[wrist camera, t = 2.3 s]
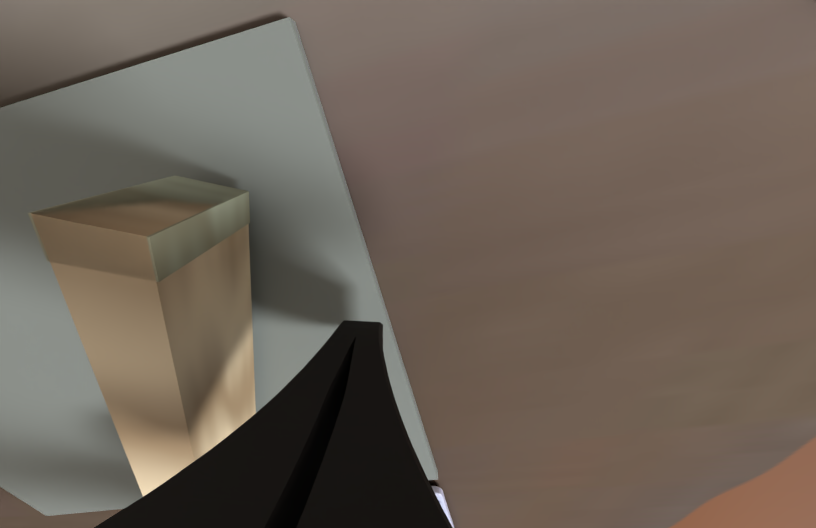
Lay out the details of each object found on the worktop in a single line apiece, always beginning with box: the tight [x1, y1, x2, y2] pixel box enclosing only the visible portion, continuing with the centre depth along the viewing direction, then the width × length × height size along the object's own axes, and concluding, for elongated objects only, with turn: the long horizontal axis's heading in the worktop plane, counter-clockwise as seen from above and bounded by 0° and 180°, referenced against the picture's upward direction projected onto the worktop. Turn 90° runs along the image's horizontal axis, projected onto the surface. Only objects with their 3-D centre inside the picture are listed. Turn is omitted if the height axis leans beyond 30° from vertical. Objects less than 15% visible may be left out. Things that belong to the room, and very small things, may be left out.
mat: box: [0, 17, 438, 516], centre depth 14 cm, size 21×27×1 cm
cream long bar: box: [28, 176, 256, 496], centre depth 10 cm, size 13×2×4 cm, turn 168°
